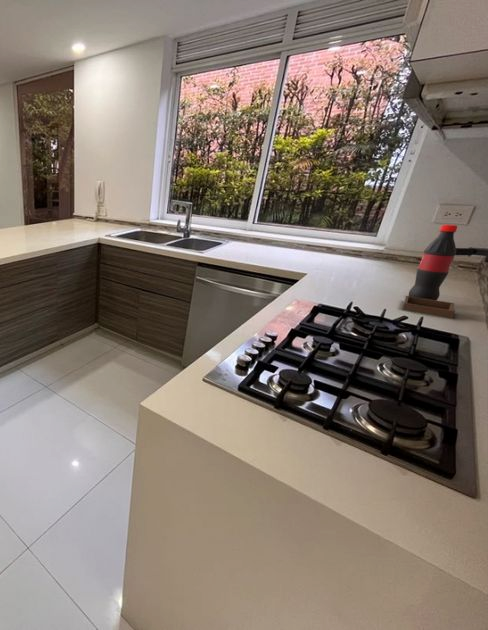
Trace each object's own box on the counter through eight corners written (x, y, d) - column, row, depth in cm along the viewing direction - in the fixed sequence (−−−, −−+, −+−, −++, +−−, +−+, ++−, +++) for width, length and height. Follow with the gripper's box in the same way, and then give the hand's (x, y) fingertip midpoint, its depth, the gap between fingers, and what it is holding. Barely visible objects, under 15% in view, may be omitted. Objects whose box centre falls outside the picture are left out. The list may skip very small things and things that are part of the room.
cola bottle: (435, 301, 135) (466, 224, 124) (436, 306, 129) (468, 226, 119) (406, 297, 141) (433, 223, 130) (406, 302, 135) (434, 224, 124)
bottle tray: (450, 321, 115) (455, 311, 114) (400, 312, 124) (404, 303, 123) (450, 312, 124) (453, 303, 122) (403, 304, 132) (406, 295, 131)
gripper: (573, 274, 113) (497, 272, 117) (498, 259, 136) (437, 258, 139) (585, 251, 110) (507, 250, 114) (506, 240, 133) (444, 239, 137)
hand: (468, 254), depth 127 cm, fingers open, 13 cm apart
